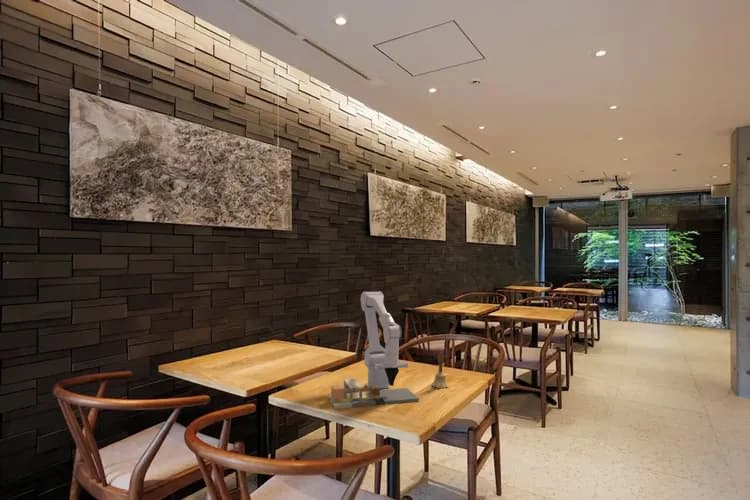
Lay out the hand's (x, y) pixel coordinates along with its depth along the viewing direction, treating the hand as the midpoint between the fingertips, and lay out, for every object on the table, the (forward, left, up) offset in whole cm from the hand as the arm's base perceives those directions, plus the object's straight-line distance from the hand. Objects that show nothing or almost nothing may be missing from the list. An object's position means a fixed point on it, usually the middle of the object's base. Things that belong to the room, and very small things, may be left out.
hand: (391, 385), depth 182 cm
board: (+8, 0, -5) cm, 10 cm away
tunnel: (+17, 0, -4) cm, 18 cm away
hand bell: (-28, -10, -6) cm, 30 cm away
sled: (+16, 0, -4) cm, 16 cm away
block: (+23, 0, -3) cm, 24 cm away
